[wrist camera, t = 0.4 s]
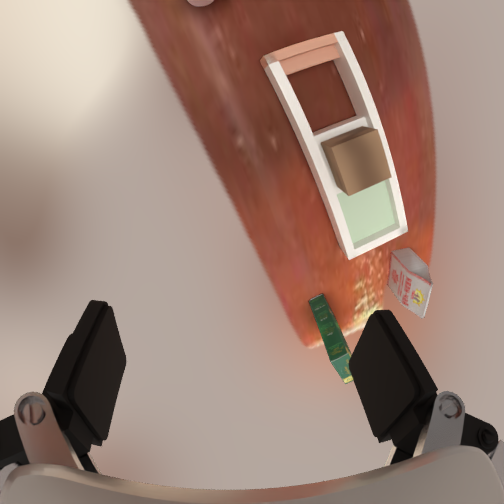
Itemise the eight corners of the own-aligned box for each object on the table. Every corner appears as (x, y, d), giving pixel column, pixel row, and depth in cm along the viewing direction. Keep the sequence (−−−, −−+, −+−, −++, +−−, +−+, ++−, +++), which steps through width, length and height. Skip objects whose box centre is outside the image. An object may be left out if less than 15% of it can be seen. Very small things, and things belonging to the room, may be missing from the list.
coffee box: (338, 321, 49) (362, 378, 37) (323, 328, 49) (344, 386, 38) (323, 292, 45) (349, 351, 34) (307, 300, 46) (329, 361, 34)
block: (362, 125, 30) (377, 129, 27) (376, 169, 33) (391, 177, 30) (320, 142, 31) (331, 147, 28) (336, 186, 34) (348, 196, 30)
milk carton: (409, 247, 42) (441, 280, 34) (404, 280, 46) (432, 315, 37) (391, 251, 42) (422, 286, 34) (387, 284, 46) (413, 321, 37)
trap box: (331, 37, 27) (342, 30, 23) (394, 220, 40) (408, 231, 36) (259, 61, 28) (263, 55, 25) (339, 246, 41) (348, 260, 38)
